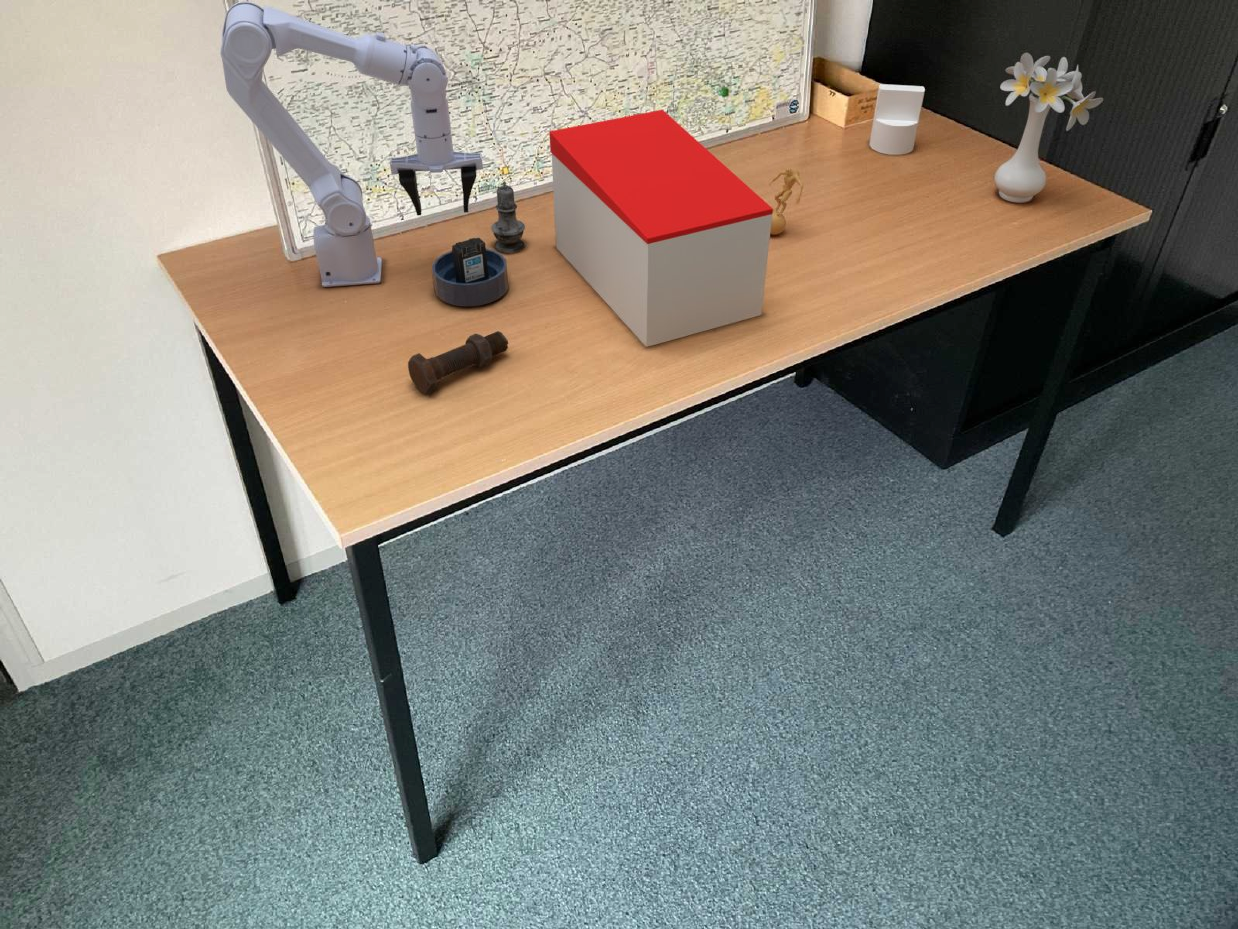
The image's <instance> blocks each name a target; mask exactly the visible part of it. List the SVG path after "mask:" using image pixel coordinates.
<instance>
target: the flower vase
mask: <svg viewBox="0 0 1238 929" xmlns="http://www.w3.org/2000/svg"><path fill="white" fill-rule="evenodd" d="M1050 60H1051V56H1050V55H1045V56H1042V57H1040V58H1038V59H1037V60H1036V61H1035V62H1034V59H1033V56H1032V55H1031V54H1030V53H1029V52H1024V53H1023V54H1022V55H1021V56H1020V61H1017V62H1015V64H1014V66H1008V67H1007V68H1005V70H1004V71H1005V73H1007V74H1008V75H1009V74H1010V75H1013V76H1014V79H1007V80H1004V81H1003V82H1001V83H1000V87H999V88H1000V90H1001V91H1004V92H1010V93H1009V94H1008V96H1007V97H1006V99H1005V106H1007V107H1008V106H1010V105H1012V103H1014V101H1016V99H1018V97H1020V96H1021V97H1027V96H1028V95H1029V96H1028V99H1029V108H1028V115H1027V120H1026V124H1025V127H1024V130H1023V133H1022V137H1021V140H1020V142H1019V145H1018V147H1017V149H1016V150H1015V153H1013V155H1012V156H1011V157H1010V158H1009V159H1008V160H1006V161H1005V162H1004V163H1002V164H1001V165H999V166H998V168H997V169H996V171H995V173H994V175H993V182H994V185H995V187H996V188H997V190H998V195H999V197H1000V198H1002V199H1003V200H1005V201H1008V202H1010V203H1016V204H1023V203H1027V202H1030V201H1032V200H1033V198H1034V196H1036V195H1038V194H1039V193H1040V192H1042V191H1043V190H1044V188H1045V187H1046V184H1047V174H1046V171H1045V169H1044V168H1043V167H1042V165H1041V163H1040V160H1039V148H1040V142H1041V138H1042V134H1043V130H1044V125H1045V123H1046V120H1047V116H1048V114H1049V112H1050V109H1053V110H1054V111H1055V112H1056V113H1060V114H1061V113H1064V111H1065V110H1066V108H1065V104H1064V102H1063V100H1066V101H1067V102H1070V104H1072V108H1071V110H1070V112H1069V115H1070V116H1069V119H1068V122H1067V124H1066V128H1065V131H1066V132H1068V131H1069V130H1071V129H1072V128H1073V127H1074V125H1075V124H1076V123H1077V122H1076V121H1078V123H1079V124H1080V125H1082V126H1085V125H1086V124H1088V122H1089V120H1090V112H1089V111H1088V110H1091V109H1094V108H1096V107H1097V106H1098V107H1099V105H1100V104H1102V102H1103V101H1104V98H1103V97H1097V98H1094V97H1095V96H1096V93H1097V91H1096V90H1094V91H1092V92H1090V93H1089V94H1088V95H1087V96H1084V95H1083V83H1082V80H1081V79H1082V78H1083V75H1082V72H1080V71H1079V64H1077V66H1076V69H1075V70H1073V71H1069V72H1067V71H1068V68H1069V62H1068V60H1067V57H1065V56H1062V57H1061V58H1060V60H1059V62H1058V66H1057V69H1056V68H1053V67H1049V68H1048V69H1047V70H1046V69H1045V65H1047V64H1048V63H1049V61H1050ZM1030 91H1031V93H1030ZM1062 99H1063V100H1062ZM1075 99H1076V100H1077V101H1075Z"/></svg>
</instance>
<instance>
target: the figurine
mask: <svg viewBox="0 0 1238 929" xmlns="http://www.w3.org/2000/svg"><path fill="white" fill-rule="evenodd" d="M782 175H783V176H784V177H783V180H784V181H783V182H784V184H781V186H780V188H779V190H778V191H777V193H775V195H774V200H775V201H776V203H777V206H776V207H775V208H774V209H773V213H772V221H771V231H770V235H771V236H772V235H774V236H775V235H779V234H781V233H783V231H785V228H786V225H787V220H786V217H785V216H784V215H783V214H784V212H785V210H786V208H787V205H788V204H787V201H788V200H789V198H790V197H791V196H792V195H793V190H792V188H793V186H794V185H795V183H797V184H798V186H799V190H798V194H797V195H798V196H797V198H796V199H795V204H796V205H799V204H800V202H801V196H802V192H803V189H804V184H803V182H802V180H801V178H800V171H799V169H797V168H791V167H787V168H786V169H785V170H782V171H780V172H779V173H778V174H777V175H776V176H774V177H773V178H772V180H771V181H770V183H769V184H768V187H771V185H772V184H773V183H774V182H775V181H777V180H778V179H779V178H780V177H781V176H782ZM780 197H781V199H780ZM781 206H782V208H781V210H780V211H778V210H779V209H780V207H781Z"/></svg>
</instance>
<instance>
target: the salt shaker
mask: <svg viewBox="0 0 1238 929" xmlns="http://www.w3.org/2000/svg"><path fill="white" fill-rule="evenodd" d="M496 199H497V200H496V201H497V204H496V205H495V209H496V210H497V217H498V218H497V221H495V222H493V223H492V225H491V226H490V229H491V231H492V233H493V236H494V238H495V239H496V240H497V241H496V242H494V249H495V251H497V252H500V253H503V254H504V253H505V254H513V253H517V252H520V251H522V250H523V249H524V248H525V244H526V243H525V242H524V241H523V240H522V238H523V236H524V232H525V231H524V230H526V225H525V223H524V222H523V221H522V220H518V219H517V213H516V212H517V211H516V210H517V208H518V205H517V204H516V203H515V192H514V189H513V187H512V186H511V185H508V184H507V182H506V181H503V182H502V185H501V186H499V187H498V188H497V189H496Z"/></svg>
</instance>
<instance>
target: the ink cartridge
mask: <svg viewBox="0 0 1238 929" xmlns="http://www.w3.org/2000/svg"><path fill="white" fill-rule="evenodd" d="M486 246H487V245H486V242H485V241H484V240H483V239H482V238H481V237H471V238H469V239H467V240H463V241H458V242H456V243H455V244H452V246H451V247H452V248H451V251H452V254H453V262H454V269H455V276H456V283H476V282H480V281H484V280H487V279H489V275H488V265H487V255H486V249H487V247H486Z"/></svg>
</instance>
